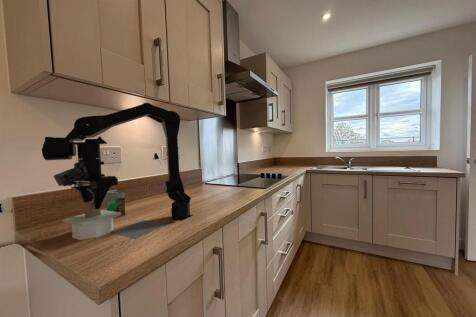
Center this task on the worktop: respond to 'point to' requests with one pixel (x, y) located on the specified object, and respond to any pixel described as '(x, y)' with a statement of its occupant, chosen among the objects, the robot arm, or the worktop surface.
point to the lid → (91, 216)
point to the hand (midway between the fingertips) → (92, 208)
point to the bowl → (92, 230)
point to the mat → (138, 229)
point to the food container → (115, 202)
